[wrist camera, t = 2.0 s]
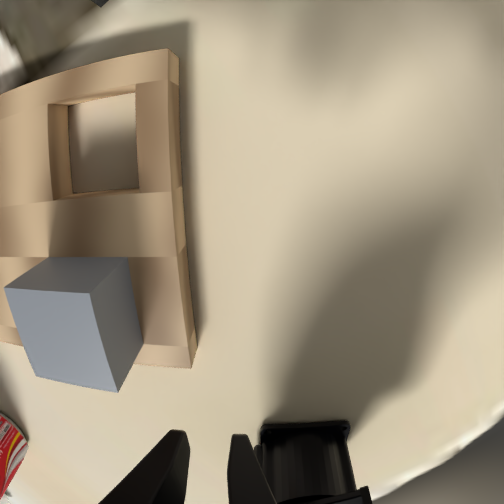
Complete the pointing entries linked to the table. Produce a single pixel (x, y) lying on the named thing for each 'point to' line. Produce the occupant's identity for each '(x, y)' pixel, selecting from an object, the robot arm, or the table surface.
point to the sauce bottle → (4, 499)
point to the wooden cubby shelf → (101, 196)
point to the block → (78, 320)
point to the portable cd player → (100, 2)
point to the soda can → (10, 451)
